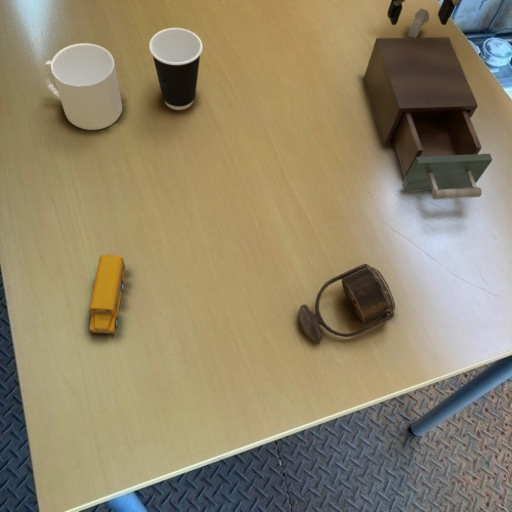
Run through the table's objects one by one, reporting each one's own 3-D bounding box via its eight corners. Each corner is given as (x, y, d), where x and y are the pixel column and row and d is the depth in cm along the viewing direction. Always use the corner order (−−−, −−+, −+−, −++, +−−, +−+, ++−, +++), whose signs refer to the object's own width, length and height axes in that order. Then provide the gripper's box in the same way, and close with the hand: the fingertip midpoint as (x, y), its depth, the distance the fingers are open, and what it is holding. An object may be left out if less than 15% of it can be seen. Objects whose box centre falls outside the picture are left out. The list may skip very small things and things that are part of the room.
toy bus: (90, 334, 70) (84, 322, 67) (103, 267, 75) (99, 253, 71) (115, 336, 70) (111, 324, 67) (127, 268, 75) (123, 255, 72)
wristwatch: (424, 30, 105) (434, 7, 101) (415, 45, 103) (424, 22, 98) (410, 24, 105) (419, 1, 101) (401, 39, 103) (409, 16, 99)
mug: (133, 102, 90) (125, 56, 82) (102, 139, 86) (92, 94, 78) (70, 76, 92) (57, 29, 84) (38, 111, 87) (20, 65, 79)
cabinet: (455, 143, 91) (478, 105, 84) (383, 146, 90) (399, 108, 82) (430, 76, 99) (448, 36, 91) (363, 78, 97) (376, 37, 90)
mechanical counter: (412, 335, 68) (403, 257, 70) (312, 335, 65) (308, 255, 68) (388, 342, 74) (381, 271, 77) (297, 343, 72) (293, 270, 75)
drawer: (482, 211, 84) (503, 184, 78) (410, 215, 82) (426, 188, 76) (446, 118, 93) (462, 88, 87) (381, 120, 91) (394, 90, 85)
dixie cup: (212, 95, 92) (212, 41, 83) (184, 124, 89) (182, 71, 79) (173, 75, 94) (169, 20, 84) (145, 103, 90) (138, 48, 80)
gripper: (497, -85, 89) (454, 7, 104) (396, -88, 87) (367, 6, 102) (512, -58, 86) (466, 33, 101) (408, -60, 83) (376, 34, 98)
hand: (416, 20), depth 101 cm, fingers open, 9 cm apart
